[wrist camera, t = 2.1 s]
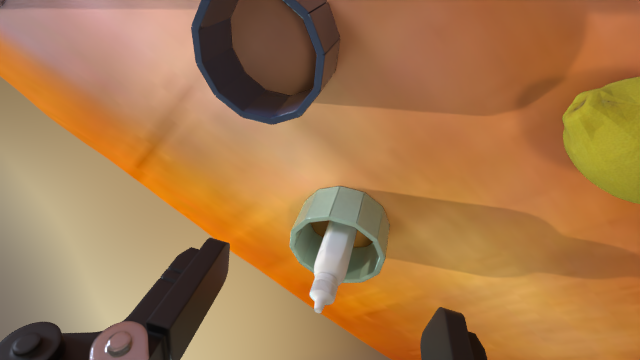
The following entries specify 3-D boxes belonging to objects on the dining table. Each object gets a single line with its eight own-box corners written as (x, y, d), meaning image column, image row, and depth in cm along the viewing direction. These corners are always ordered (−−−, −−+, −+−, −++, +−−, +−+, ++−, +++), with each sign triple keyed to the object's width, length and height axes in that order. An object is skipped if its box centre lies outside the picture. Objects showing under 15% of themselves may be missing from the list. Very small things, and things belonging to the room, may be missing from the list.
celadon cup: (300, 237, 42) (287, 266, 38) (307, 176, 35) (292, 205, 32) (376, 259, 41) (371, 292, 37) (398, 201, 34) (395, 234, 30)
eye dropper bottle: (317, 221, 39) (283, 307, 30) (345, 198, 36) (316, 287, 27) (344, 241, 40) (319, 330, 31) (373, 220, 37) (355, 314, 28)
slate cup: (229, 87, 31) (201, 107, 27) (220, -40, 25) (182, -36, 21) (329, 110, 30) (315, 135, 26) (348, -17, 23) (332, -8, 19)
